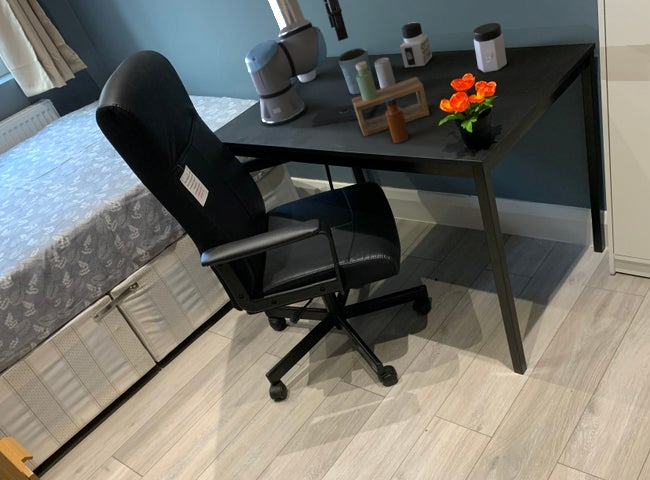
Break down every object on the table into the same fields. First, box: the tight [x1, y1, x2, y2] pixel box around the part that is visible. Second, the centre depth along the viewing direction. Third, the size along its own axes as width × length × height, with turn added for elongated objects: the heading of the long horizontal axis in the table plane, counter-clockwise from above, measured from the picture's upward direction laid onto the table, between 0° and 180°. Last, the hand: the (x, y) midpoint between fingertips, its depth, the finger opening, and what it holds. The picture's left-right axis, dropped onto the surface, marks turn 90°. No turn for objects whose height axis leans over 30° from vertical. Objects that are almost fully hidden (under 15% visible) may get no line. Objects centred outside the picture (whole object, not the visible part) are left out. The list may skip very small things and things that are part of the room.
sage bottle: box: [356, 62, 377, 101], centre depth 178 cm, size 4×4×10 cm
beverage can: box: [374, 57, 396, 89], centre depth 198 cm, size 5×5×12 cm
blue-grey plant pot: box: [337, 47, 373, 95], centre depth 210 cm, size 10×10×12 cm
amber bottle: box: [384, 96, 410, 144], centre depth 172 cm, size 5×5×12 cm
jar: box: [473, 22, 508, 73], centre depth 194 cm, size 9×8×12 cm
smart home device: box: [311, 104, 378, 126], centre depth 199 cm, size 8×2×20 cm
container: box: [399, 21, 433, 68], centre depth 215 cm, size 8×8×13 cm
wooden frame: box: [351, 76, 430, 138], centre depth 184 cm, size 8×20×9 cm, turn 100°
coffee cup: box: [297, 68, 317, 83], centre depth 234 cm, size 11×11×12 cm
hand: (339, 32), depth 172 cm, fingers open, 13 cm apart
